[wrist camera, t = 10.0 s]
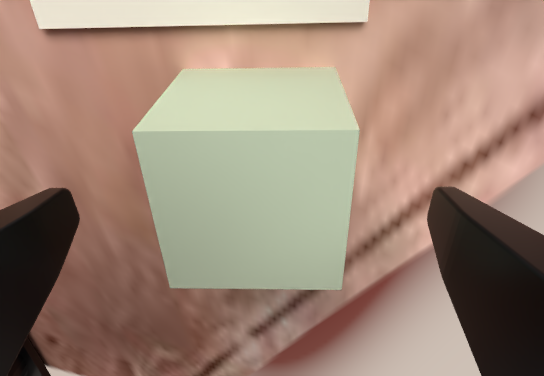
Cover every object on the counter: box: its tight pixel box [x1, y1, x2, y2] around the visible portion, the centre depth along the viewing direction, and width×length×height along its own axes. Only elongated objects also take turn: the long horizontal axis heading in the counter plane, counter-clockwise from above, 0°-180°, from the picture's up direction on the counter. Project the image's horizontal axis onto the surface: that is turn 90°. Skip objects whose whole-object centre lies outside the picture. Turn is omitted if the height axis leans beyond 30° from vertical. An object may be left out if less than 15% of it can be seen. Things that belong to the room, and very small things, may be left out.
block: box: [132, 67, 360, 290], centre depth 11 cm, size 4×4×4 cm
